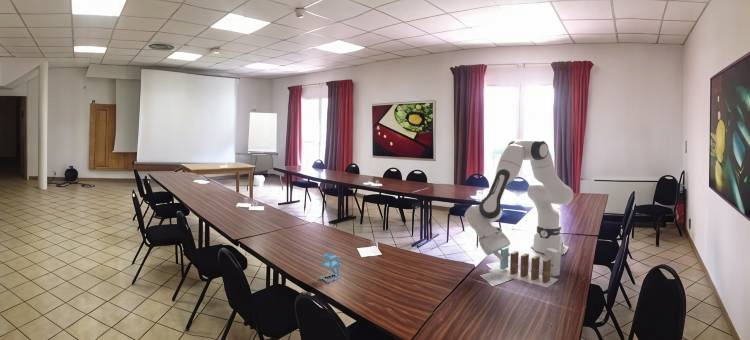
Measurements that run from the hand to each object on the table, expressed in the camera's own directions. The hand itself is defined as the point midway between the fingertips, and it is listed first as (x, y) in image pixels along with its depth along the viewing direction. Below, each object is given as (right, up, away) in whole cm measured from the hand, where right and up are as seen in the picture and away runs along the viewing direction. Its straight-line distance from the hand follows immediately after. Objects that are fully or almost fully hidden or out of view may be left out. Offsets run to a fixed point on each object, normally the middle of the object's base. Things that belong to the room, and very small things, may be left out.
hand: (505, 257), depth 180 cm
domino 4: (+10, -7, -10) cm, 16 cm away
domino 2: (+3, -7, -3) cm, 8 cm away
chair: (-84, -8, -6) cm, 85 cm away
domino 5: (+13, -8, -13) cm, 20 cm away
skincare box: (+21, -7, -4) cm, 22 cm away
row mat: (+6, -7, -5) cm, 11 cm away
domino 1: (0, -5, +1) cm, 5 cm away
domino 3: (+7, -7, -6) cm, 11 cm away
